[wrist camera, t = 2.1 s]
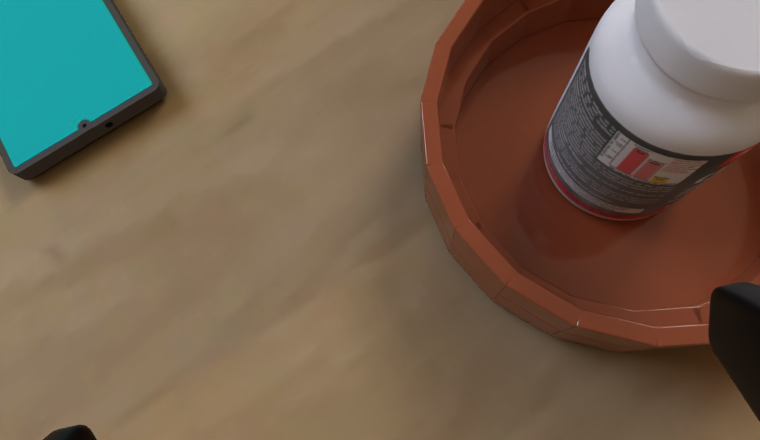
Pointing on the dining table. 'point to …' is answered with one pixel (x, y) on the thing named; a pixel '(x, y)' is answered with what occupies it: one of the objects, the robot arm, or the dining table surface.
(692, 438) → the dining table surface
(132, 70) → the smartphone
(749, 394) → the robot arm
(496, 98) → the terracotta bowl
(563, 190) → the pill bottle
